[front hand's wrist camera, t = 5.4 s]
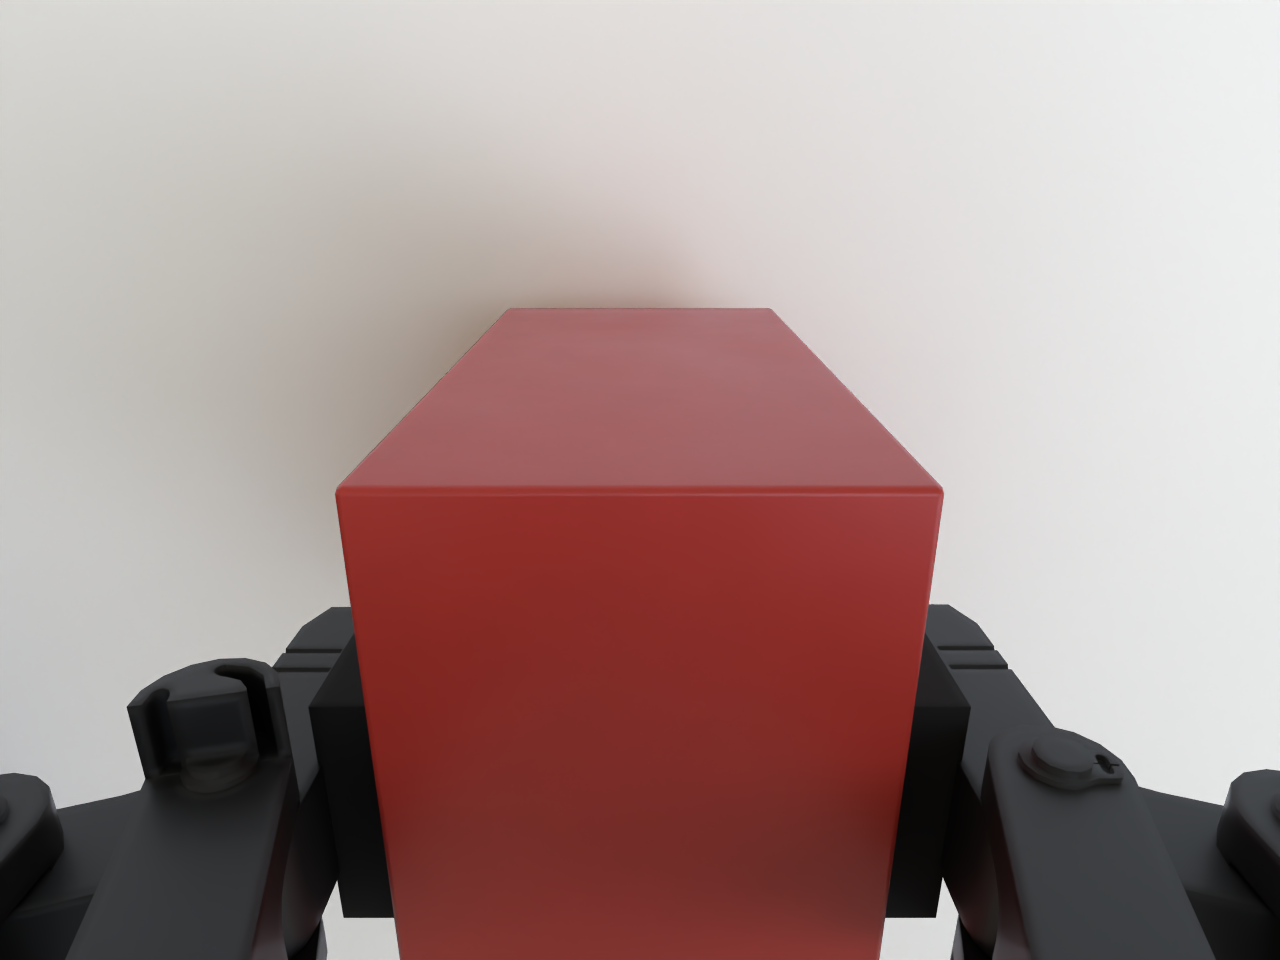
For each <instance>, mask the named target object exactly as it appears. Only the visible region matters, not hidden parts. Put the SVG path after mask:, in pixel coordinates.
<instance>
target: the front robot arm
mask: <svg viewBox="0 0 1280 960" xmlns="http://www.w3.org/2000/svg"><path fill="white" fill-rule="evenodd" d="M127 710H128V714H129V718H130V721H131V725H132V729H133V733H134V737H135V741H136V744H137V748H138V752H139V756H140V760H141V764H142V767H143V771H144V775H145V781H144V784H143V786H142V788H141V790H140V791H136V792H133V793H129V794H126V795H122V796H118V797H113V798H108V799H104V800H99V801H94V802H90V803H85V804H80V805H75V806H71V807H66V808H61V809H57V810H56V807H55V804H54V800H53V797H52V794H51V791H50V788H49V786H48V785H47V784H45V783H44V782H43V781H42V780H41V779H39V778H38V777H37V776H31V775H24V774H17V773H10V774H2V775H0V960H326V959H327V945H326V938H325V931H324V926H323V920H322V914H323V912H324V909H325V907H326V905H327V902H328V900H329V898H330V895H331V893H332V891H333V888H334V886H335V884H336V881H338V887H339V893H340V899H341V905H342V911H343V917H344V918H394V912H393V905H392V898H391V891H390V884H389V876H388V869H387V862H386V855H385V848H384V841H383V833H382V826H381V819H380V812H379V805H378V798H377V790H376V783H375V776H374V769H373V762H372V755H371V747H370V740H369V733H368V726H367V719H366V712H365V704H364V697H363V690H362V683H361V676H360V669H359V661H358V654H357V647H356V640H355V633H354V626H353V618H352V611H351V607H331V608H330V609H328V610H327V611H325V612H324V613H322V614H321V615H319V616H318V617H316V618H315V619H313V620H312V621H310V622H309V623H307V624H306V625H304V626H303V627H302V628H301V629H300V631H299V632H298V633H297V635H296V636H295V637H294V639H293V640H292V641H291V643H290V644H289V645H288V647H287V648H286V653H283V654H282V655H281V656H280V658H279V659H278V660H277V662H276V663H275V664H274V666H273V667H270V666H269V665H268V664H267V663H264V662H260V661H256V660H251V659H247V658H234V659H217V660H212V661H208V662H203V663H198V664H194V665H190V666H188V667H185V668H183V669H180V670H178V671H175V672H173V673H170V674H168V675H165V676H163V677H161V678H160V679H158V680H157V681H155V682H154V683H152V684H151V685H149V686H147V687H146V688H144V689H143V690H141V691H140V692H139V693H138V695H137V696H136V697H135V698H134V699H133V700H132V702H131V703H130V704H129V705H128V706H127ZM942 878H943V879H944V881H945V883H946V886H947V888H948V890H949V893H950V895H951V897H952V900H953V902H954V904H955V907H956V909H957V911H958V914H959V915H958V920H957V926H956V931H955V937H954V942H953V948H952V953H951V959H950V960H1280V771H1277V770H1269V769H1265V770H1258V771H1251V772H1244V773H1243V774H1241V775H1240V776H1239V777H1238V778H1236V779H1235V780H1234V781H1233V782H1232V783H1231V785H1230V788H1229V792H1228V795H1227V798H1226V801H1225V804H1224V806H1222V805H1217V804H1212V803H1207V802H1203V801H1198V800H1193V799H1189V798H1184V797H1179V796H1174V795H1170V794H1165V793H1160V792H1156V791H1153V790H1149V789H1146V788H1142V787H1138V784H1137V782H1136V780H1135V778H1134V777H1133V775H1132V774H1131V772H1130V771H1129V770H1128V768H1127V767H1126V766H1125V764H1124V763H1123V762H1122V760H1120V759H1119V758H1118V757H1116V756H1115V755H1114V754H1112V753H1111V752H1110V751H1108V750H1107V749H1106V748H1104V747H1103V746H1102V745H1100V744H1098V743H1096V742H1094V741H1092V740H1090V739H1087V738H1085V737H1083V736H1081V735H1079V734H1076V733H1074V732H1071V731H1067V730H1063V729H1059V728H1055V727H1054V726H1053V724H1052V723H1051V722H1050V720H1049V719H1048V718H1047V716H1046V715H1045V714H1044V712H1043V711H1042V710H1041V708H1040V707H1039V706H1038V704H1037V703H1036V702H1035V700H1034V699H1033V698H1032V696H1031V695H1030V694H1029V692H1028V691H1027V690H1026V688H1025V687H1024V686H1023V684H1022V683H1021V682H1020V680H1019V679H1018V678H1017V676H1016V675H1015V674H1014V672H1013V671H1012V670H1011V669H1008V664H1007V663H1006V661H1005V660H1004V659H1003V657H1002V656H1001V655H1000V653H999V652H998V651H997V650H994V645H993V644H992V643H991V641H990V640H989V639H988V637H987V636H986V635H985V633H984V632H983V631H982V629H981V628H980V627H979V625H978V624H977V623H975V622H974V621H972V620H971V619H969V618H968V617H966V616H965V615H963V614H962V613H960V612H959V611H957V610H956V609H954V608H953V607H951V606H950V605H928V612H927V619H926V627H925V634H924V641H923V648H922V655H921V662H920V670H919V677H918V684H917V691H916V698H915V706H914V713H913V720H912V727H911V734H910V742H909V749H908V756H907V763H906V770H905V777H904V785H903V792H902V799H901V806H900V813H899V821H898V828H897V835H896V842H895V849H894V857H893V864H892V871H891V878H890V885H889V892H888V900H887V907H886V914H885V918H936V913H937V907H938V901H939V895H940V889H941V883H942Z"/></svg>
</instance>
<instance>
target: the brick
mask: <svg viewBox="0 0 1280 960" xmlns="http://www.w3.org/2000/svg"><path fill="white" fill-rule="evenodd" d="M335 497H336V504H337V511H338V518H339V525H340V532H341V540H342V547H343V554H344V561H345V568H346V575H347V583H348V590H349V597H350V604H351V611H352V618H353V626H354V633H355V640H356V647H357V654H358V661H359V669H360V676H361V683H362V690H363V697H364V704H365V712H366V719H367V726H368V733H369V740H370V747H371V755H372V762H373V769H374V776H375V783H376V790H377V798H378V805H379V812H380V819H381V826H382V833H383V841H384V848H385V855H386V862H387V869H388V876H389V884H390V891H391V898H392V905H393V912H394V919H395V927H396V934H397V941H398V948H399V955H400V960H879V957H880V950H881V943H882V936H883V928H884V921H885V914H886V907H887V900H888V892H889V885H890V878H891V871H892V864H893V857H894V849H895V842H896V835H897V828H898V821H899V813H900V806H901V799H902V792H903V785H904V777H905V770H906V763H907V756H908V749H909V742H910V734H911V727H912V720H913V713H914V706H915V698H916V691H917V684H918V677H919V670H920V662H921V655H922V648H923V641H924V634H925V627H926V619H927V612H928V605H929V598H930V591H931V583H932V576H933V569H934V562H935V555H936V547H937V540H938V533H939V526H940V519H941V512H942V504H943V497H944V492H943V489H942V487H941V486H940V485H939V484H938V483H937V482H936V481H935V479H934V478H933V477H932V476H931V475H930V474H929V473H928V472H927V471H926V470H925V469H924V468H923V467H922V466H921V465H920V464H919V463H918V462H917V461H916V460H915V459H914V458H913V457H912V455H911V454H910V453H909V452H908V451H907V450H906V449H905V448H904V447H903V446H902V445H901V444H900V443H899V442H898V441H897V440H896V439H895V438H894V437H893V436H892V435H891V434H890V433H889V431H888V430H887V429H886V428H885V427H884V426H883V425H882V424H881V423H880V422H879V421H878V420H877V419H876V418H875V417H874V416H873V415H872V414H871V413H870V412H869V411H868V410H867V409H866V407H865V406H864V405H863V404H862V403H861V402H860V401H859V400H858V399H857V398H856V397H855V396H854V395H853V394H852V393H851V392H850V391H849V390H848V389H847V388H846V387H845V386H844V385H843V383H842V382H841V381H840V380H839V379H838V378H837V377H836V376H835V375H834V374H833V373H832V372H831V371H830V370H829V369H828V368H827V367H826V366H825V365H824V364H823V363H822V362H821V360H820V359H819V358H818V357H817V356H816V355H815V354H814V353H813V352H812V351H811V350H810V349H809V348H808V347H807V346H806V345H805V344H804V343H803V342H802V341H801V340H800V339H799V338H798V336H797V335H796V334H795V333H794V332H793V331H792V330H791V329H790V328H789V327H788V326H787V325H786V324H785V323H784V322H783V321H782V320H781V319H780V318H779V317H778V316H777V315H776V314H775V312H774V311H773V310H771V309H769V308H510V309H508V310H507V311H506V312H505V313H504V314H503V315H502V316H501V317H500V318H499V319H498V320H497V321H496V322H495V323H494V325H493V326H492V327H491V328H490V329H489V330H488V331H487V332H486V333H485V334H484V335H483V336H482V337H481V338H480V339H479V340H478V341H477V342H476V343H475V344H474V345H473V346H472V347H471V348H470V349H469V351H468V352H467V353H466V354H465V355H464V356H463V357H462V358H461V359H460V360H459V361H458V362H457V363H456V364H455V365H454V366H453V367H452V368H451V369H450V370H449V371H448V372H447V373H446V374H445V376H444V377H443V378H442V379H441V380H440V381H439V382H438V383H437V384H436V385H435V386H434V387H433V388H432V389H431V390H430V391H429V392H428V393H427V394H426V395H425V396H424V397H423V398H422V399H421V400H420V402H419V403H418V404H417V405H416V406H415V407H414V408H413V409H412V410H411V411H410V412H409V413H408V414H407V415H406V416H405V417H404V418H403V419H402V420H401V421H400V422H399V423H398V424H397V425H396V427H395V428H394V429H393V430H392V431H391V432H390V433H389V434H388V435H387V436H386V437H385V438H384V439H383V440H382V441H381V442H380V443H379V444H378V445H377V446H376V447H375V448H374V449H373V450H372V451H371V453H370V454H369V455H368V456H367V457H366V458H365V459H364V460H363V461H362V462H361V463H360V464H359V465H358V466H357V467H356V468H355V469H354V470H353V471H352V472H351V473H350V474H349V475H348V476H347V478H346V479H345V480H344V481H343V482H342V483H341V484H340V485H339V486H338V487H337V489H336V492H335Z"/></svg>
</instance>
